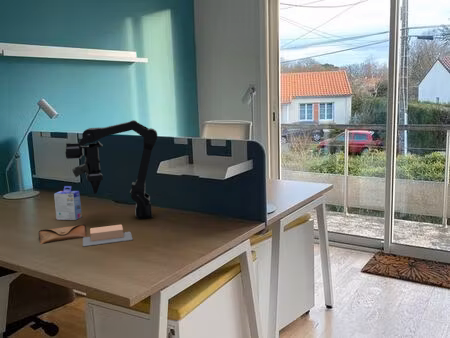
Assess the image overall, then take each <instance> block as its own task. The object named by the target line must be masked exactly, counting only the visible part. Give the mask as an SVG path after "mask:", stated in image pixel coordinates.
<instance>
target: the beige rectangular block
mask: <svg viewBox="0 0 450 338" xmlns="http://www.w3.org/2000/svg"><path fill="white" fill-rule="evenodd" d="M89 232H90V237H91V241H98V240H105V239H113V238H120V237H124V235H123V232H124V228H123V225H122V224H115V225H113V224H112V225H108V226H107V225H106V226H100V227H99V226H97V227H91V228H90V229H89Z"/></svg>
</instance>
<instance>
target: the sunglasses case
mask: <svg viewBox="0 0 450 338" xmlns="http://www.w3.org/2000/svg"><path fill="white" fill-rule="evenodd" d="M87 235H88V234H87V227H86V225H85V224H84V223H83V224H82V223H81V224H77V225H73V226H72V225H70V226H64V227H63V226H61V227H57V228H49V229H46V228H45V229H40V230H39V231H38V239H39V240H38V241H39V243H40V245H44V244H50V243H55V242H56V243H57V242H62V241H69V240H70V241H71V240H78V239H83V238H84V237H88V236H87Z"/></svg>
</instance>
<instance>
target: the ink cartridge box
mask: <svg viewBox="0 0 450 338" xmlns="http://www.w3.org/2000/svg"><path fill="white" fill-rule="evenodd" d="M63 187H64V188H63V190H60V191H57V192H55V193H54V194H53V195H54V197H53V198H54V206H55V219H56V220H58V221H59V220H60V221H61V220H63V221H66V220H67V221H76V220H78V219H81V218H82V217H83V215H82V204H81V196H80V190H72V185H64V186H63Z"/></svg>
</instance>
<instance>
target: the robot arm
mask: <svg viewBox="0 0 450 338" xmlns="http://www.w3.org/2000/svg"><path fill="white" fill-rule="evenodd" d="M129 131H133V132H135V133H136V134H138V135H139V136H141V137H143V148H142V149H143V151H142V155H141V158H140V159H141V160H140V163H139V164H140V165H139V169H138V173H137V179H136V181H135V182H134V181H132V183H131V188H130V191H129V194H130V195H131V196H130V197H131V199H132V201H134V202H135V206H134V211H135V217H136V218H137V219H138V220H143V219H150V218H153V217H154V215H153V214H152V213H153V212H152V203H151V201H150V200H151V196H150V194H148V193H147V192H146V180H147V179H146V178H147V175H148V169H149V165H150V160H151V156H152V152H153V149H154V147H155V144H156V143H157V140H158V132H157V130H156V129H154V128H152V127H151V128H148V127H146V126H145V125H143V124H141V123H140V122H138V121H137V120H133V119H132V120H130V121H128V122H122V123H118V124H117V123H116V124H113V125H109V126H105V127H88V128H86V129H85V130H84V131H83V132H82V138H81V140H79V142H73V143H72V142H66V143H65V146H66V147H65V152H64V153H65V159H66V160H75V159H76V160H77V159H82V157H83V156H84V158H85V160H84V163H83V164H80V165H77V166H75V167H73V168H72V169H71V170H72V172H73V175H74V177H75V178H77V177H79V176H81V175H83V174H85V176H86V181H87V182H89V183H90V184H91V188H92V191H93V194H96V195H97V193H98V190H99V187H100V184H101V182H102V181H103V180H104V177H103V174H102V172H101V171H102V170H101V165H100V164H101V160H100V154H99V153H100V151H99V148H102V147H103V145H104V144H102V143H101V142H100V141H99V140H100V139H103V138H105V137H108V136H113V135H117V134H121V133H125V132H129ZM96 141H97V142H96ZM88 143H89V144H88ZM86 144H88V145H86Z"/></svg>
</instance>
